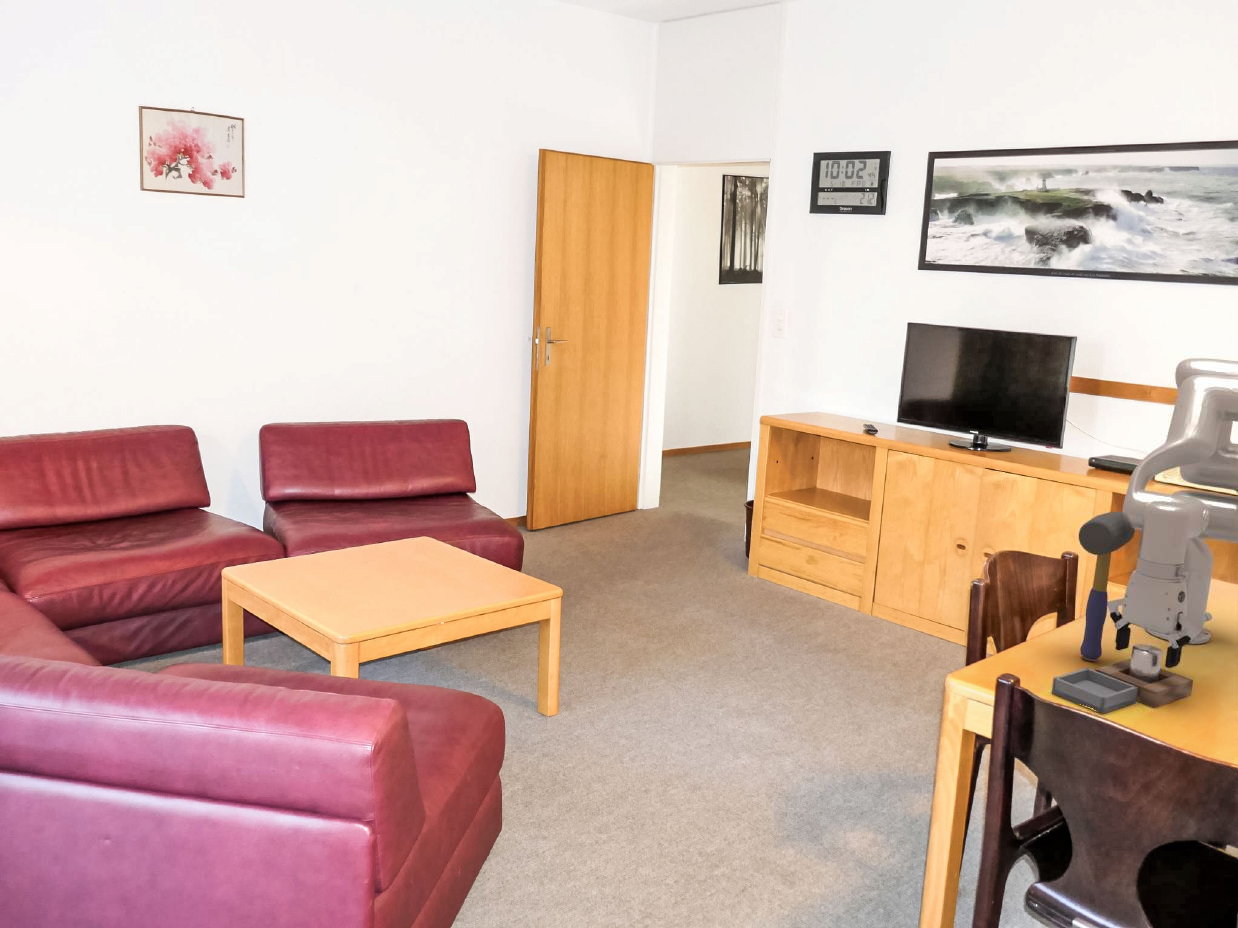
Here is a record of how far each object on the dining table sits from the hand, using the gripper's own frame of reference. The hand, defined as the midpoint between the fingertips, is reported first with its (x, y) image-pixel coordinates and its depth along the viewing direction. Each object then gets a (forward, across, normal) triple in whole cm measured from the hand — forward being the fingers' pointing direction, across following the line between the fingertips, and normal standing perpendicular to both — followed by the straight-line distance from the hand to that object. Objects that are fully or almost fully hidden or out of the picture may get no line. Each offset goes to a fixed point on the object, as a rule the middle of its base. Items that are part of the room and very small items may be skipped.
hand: (1146, 657), depth 197 cm
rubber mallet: (+6, +14, -5) cm, 16 cm away
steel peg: (+6, 0, 0) cm, 6 cm away
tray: (+6, +2, +12) cm, 14 cm away
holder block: (+6, 0, 0) cm, 6 cm away
